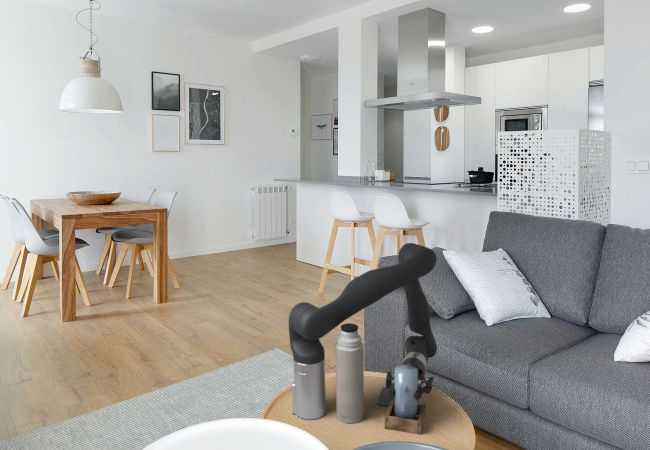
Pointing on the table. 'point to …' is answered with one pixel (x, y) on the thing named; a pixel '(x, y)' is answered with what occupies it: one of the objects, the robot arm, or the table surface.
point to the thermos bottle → (349, 375)
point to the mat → (384, 397)
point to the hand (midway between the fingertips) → (404, 395)
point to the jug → (406, 392)
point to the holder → (405, 420)
